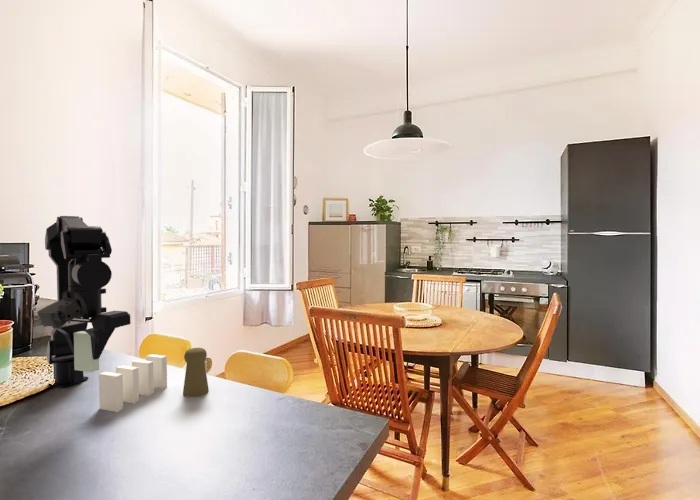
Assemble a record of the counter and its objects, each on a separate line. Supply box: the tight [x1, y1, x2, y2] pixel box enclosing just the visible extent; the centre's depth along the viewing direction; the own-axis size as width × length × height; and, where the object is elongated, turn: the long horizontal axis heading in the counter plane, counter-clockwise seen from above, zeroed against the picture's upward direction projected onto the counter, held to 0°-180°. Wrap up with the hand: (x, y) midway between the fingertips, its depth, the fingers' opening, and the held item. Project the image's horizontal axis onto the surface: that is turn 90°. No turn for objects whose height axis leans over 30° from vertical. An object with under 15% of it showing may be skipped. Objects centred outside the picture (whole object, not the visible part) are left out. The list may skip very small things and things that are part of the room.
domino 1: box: [98, 371, 124, 413], centre depth 87 cm, size 2×5×8 cm, turn 73°
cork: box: [182, 347, 210, 398], centre depth 97 cm, size 6×6×11 cm
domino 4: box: [145, 353, 168, 390], centre depth 100 cm, size 2×5×8 cm, turn 73°
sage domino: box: [74, 331, 100, 373], centre depth 83 cm, size 2×5×8 cm, turn 73°
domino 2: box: [115, 364, 140, 404], centre depth 92 cm, size 2×5×8 cm, turn 73°
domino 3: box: [131, 358, 155, 397], centre depth 96 cm, size 2×5×8 cm, turn 73°
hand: (86, 358), depth 83 cm, fingers closed on sage domino, 5 cm apart
